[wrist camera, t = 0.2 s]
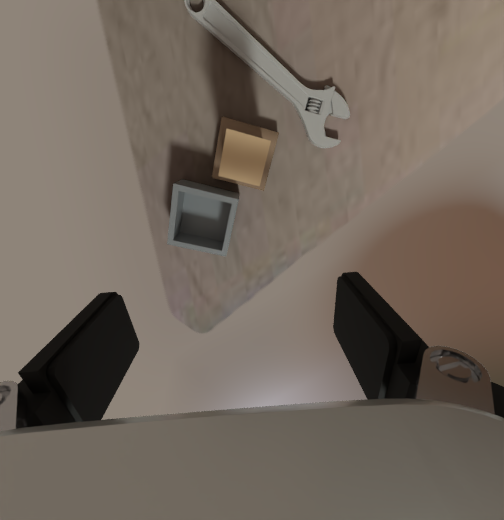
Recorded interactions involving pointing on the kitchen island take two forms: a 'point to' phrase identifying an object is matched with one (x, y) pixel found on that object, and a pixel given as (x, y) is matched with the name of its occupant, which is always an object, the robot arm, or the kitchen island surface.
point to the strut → (243, 157)
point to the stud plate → (250, 130)
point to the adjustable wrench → (274, 73)
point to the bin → (201, 217)
